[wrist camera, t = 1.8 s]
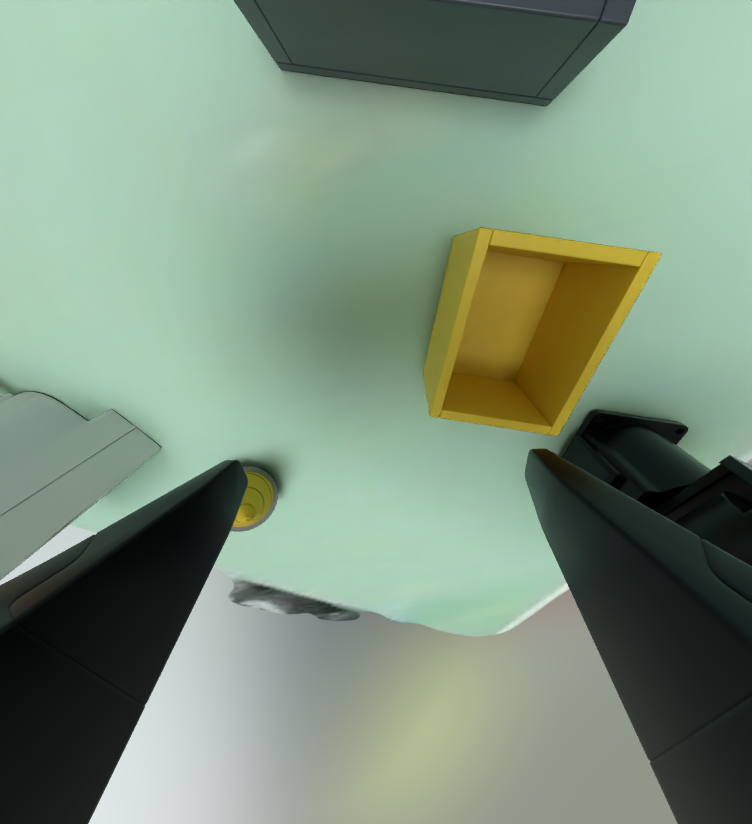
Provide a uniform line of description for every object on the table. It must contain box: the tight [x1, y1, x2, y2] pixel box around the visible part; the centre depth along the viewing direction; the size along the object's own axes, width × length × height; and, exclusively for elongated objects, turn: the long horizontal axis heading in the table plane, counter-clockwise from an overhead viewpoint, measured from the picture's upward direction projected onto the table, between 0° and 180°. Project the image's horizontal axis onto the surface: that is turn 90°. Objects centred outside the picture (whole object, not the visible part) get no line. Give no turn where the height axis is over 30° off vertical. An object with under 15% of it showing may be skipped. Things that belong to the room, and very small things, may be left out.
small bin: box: [423, 227, 662, 436], centre depth 14 cm, size 6×8×6 cm
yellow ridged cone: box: [231, 466, 278, 531], centre depth 22 cm, size 5×5×10 cm
